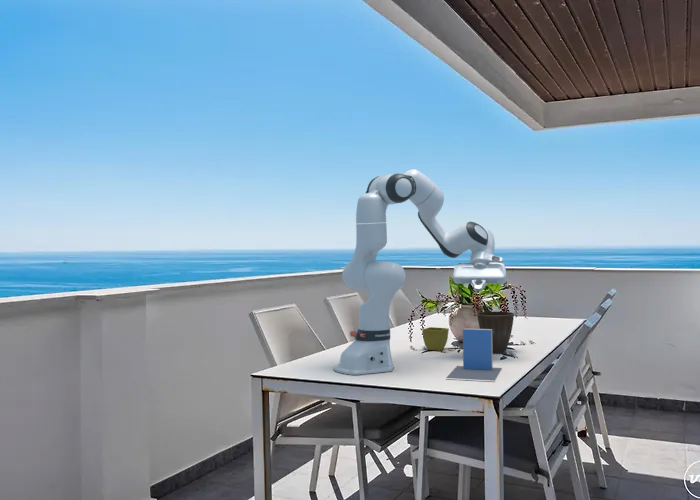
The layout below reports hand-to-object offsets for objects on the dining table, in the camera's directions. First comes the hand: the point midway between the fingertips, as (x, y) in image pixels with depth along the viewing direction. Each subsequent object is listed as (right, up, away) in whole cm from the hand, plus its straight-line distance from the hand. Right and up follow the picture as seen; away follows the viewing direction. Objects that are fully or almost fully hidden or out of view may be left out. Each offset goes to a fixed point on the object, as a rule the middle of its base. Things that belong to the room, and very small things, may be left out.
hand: (478, 290), depth 244 cm
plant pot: (+12, -27, +25) cm, 39 cm away
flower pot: (-12, -28, +32) cm, 44 cm away
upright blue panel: (-3, -27, -14) cm, 30 cm away
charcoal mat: (-5, -28, -21) cm, 35 cm away
